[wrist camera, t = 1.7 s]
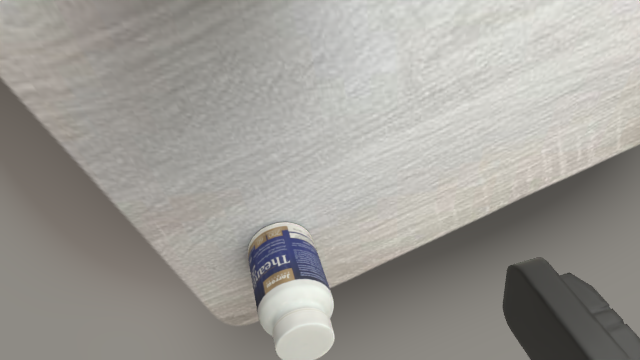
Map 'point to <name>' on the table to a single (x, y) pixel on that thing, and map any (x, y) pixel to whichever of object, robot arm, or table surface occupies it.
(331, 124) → the table surface
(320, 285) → the pill bottle
